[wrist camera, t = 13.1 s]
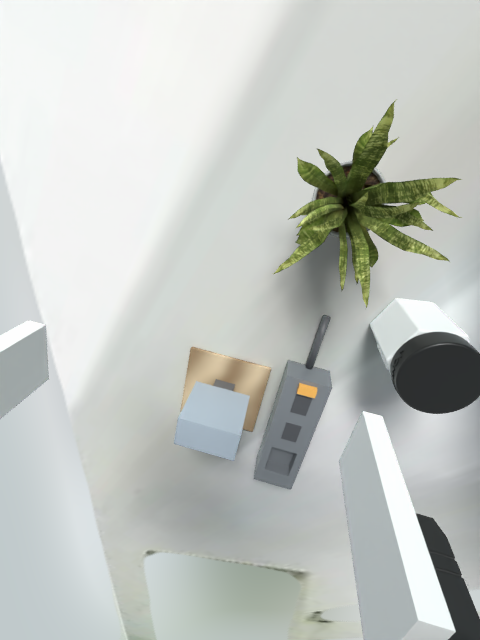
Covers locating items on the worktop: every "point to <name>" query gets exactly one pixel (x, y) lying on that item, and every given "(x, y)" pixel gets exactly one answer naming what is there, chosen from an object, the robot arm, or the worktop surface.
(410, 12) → the worktop surface
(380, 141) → the house plant
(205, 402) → the block
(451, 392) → the jar
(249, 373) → the tan flat square block
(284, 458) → the power strip
